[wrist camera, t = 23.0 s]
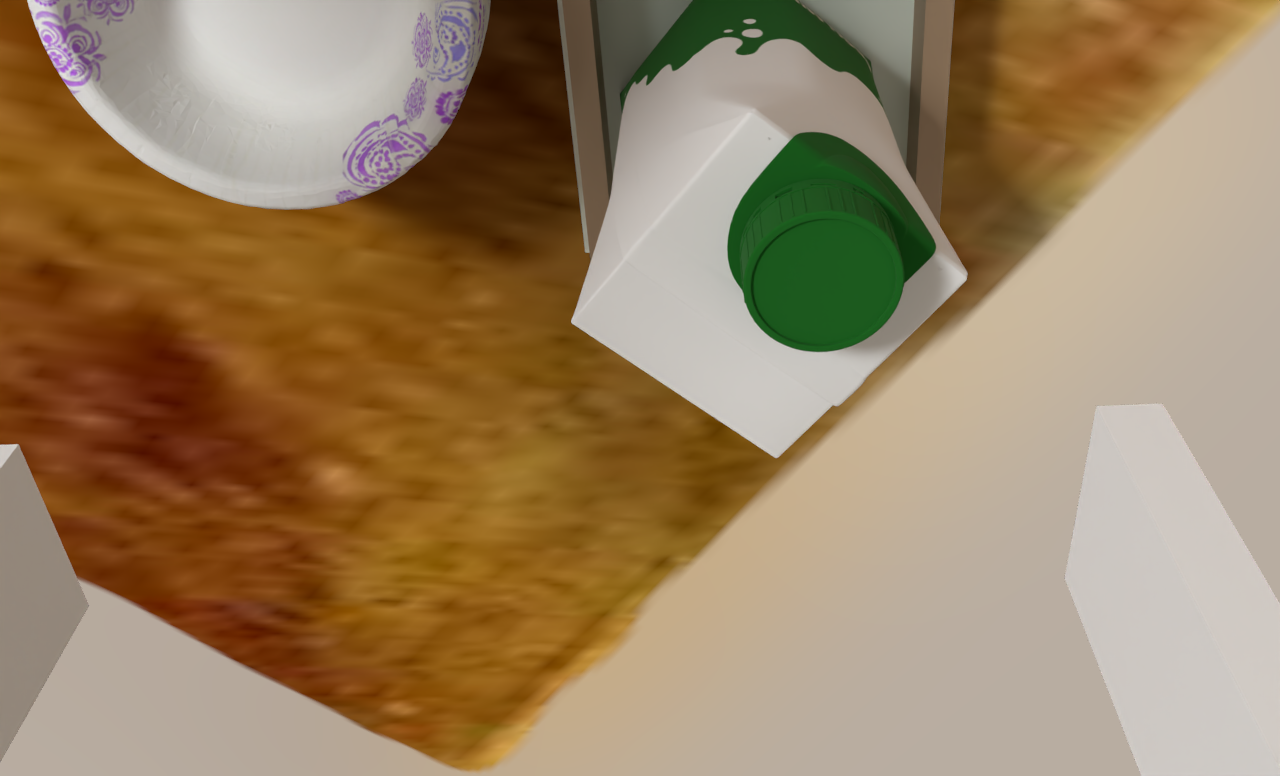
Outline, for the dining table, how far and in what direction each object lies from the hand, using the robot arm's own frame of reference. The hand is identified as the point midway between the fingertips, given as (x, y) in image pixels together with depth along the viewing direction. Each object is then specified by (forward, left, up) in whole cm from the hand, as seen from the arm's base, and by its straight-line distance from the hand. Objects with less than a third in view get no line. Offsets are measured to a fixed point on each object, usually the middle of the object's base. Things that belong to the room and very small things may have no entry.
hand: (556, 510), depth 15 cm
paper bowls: (-13, -1, -36) cm, 38 cm away
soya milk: (+3, -7, -35) cm, 36 cm away
